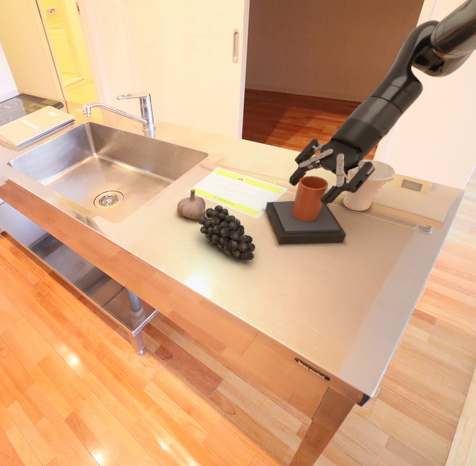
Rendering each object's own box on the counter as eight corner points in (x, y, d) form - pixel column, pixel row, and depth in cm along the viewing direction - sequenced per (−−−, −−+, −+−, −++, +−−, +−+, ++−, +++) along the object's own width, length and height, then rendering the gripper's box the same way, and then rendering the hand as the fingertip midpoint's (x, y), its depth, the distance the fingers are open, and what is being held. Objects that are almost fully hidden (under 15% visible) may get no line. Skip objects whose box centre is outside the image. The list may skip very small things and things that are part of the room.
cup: (362, 220, 73) (379, 183, 67) (327, 201, 80) (339, 165, 74) (389, 207, 75) (408, 170, 69) (353, 189, 82) (367, 154, 76)
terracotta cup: (312, 206, 74) (322, 175, 69) (321, 221, 70) (332, 188, 65) (288, 207, 75) (296, 176, 70) (295, 222, 71) (304, 190, 66)
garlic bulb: (209, 220, 80) (211, 194, 75) (181, 225, 80) (180, 199, 75) (200, 203, 86) (201, 178, 81) (174, 208, 86) (173, 183, 81)
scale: (322, 207, 79) (325, 196, 77) (344, 242, 69) (349, 231, 67) (265, 209, 81) (267, 199, 79) (279, 244, 71) (281, 234, 69)
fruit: (266, 231, 61) (218, 194, 72) (231, 256, 61) (188, 215, 72) (270, 255, 68) (225, 217, 78) (238, 278, 67) (197, 237, 78)
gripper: (328, 108, 67) (274, 172, 71) (397, 129, 56) (328, 203, 61) (340, 125, 71) (288, 185, 76) (405, 148, 61) (341, 216, 66)
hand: (306, 193), depth 69 cm, fingers open, 8 cm apart
